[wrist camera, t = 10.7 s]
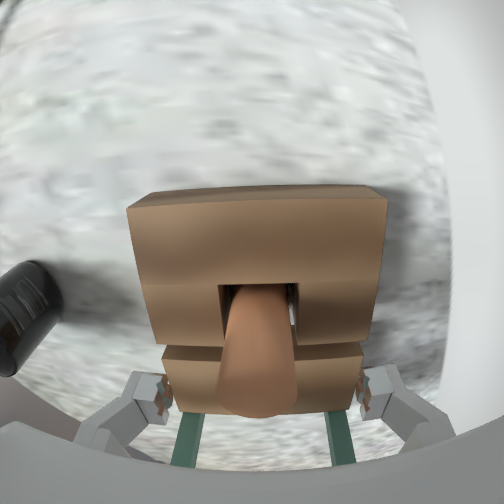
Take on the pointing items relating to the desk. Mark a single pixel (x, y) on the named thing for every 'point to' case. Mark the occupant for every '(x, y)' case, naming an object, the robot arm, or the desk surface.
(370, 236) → the socket block
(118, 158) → the desk surface
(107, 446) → the robot arm
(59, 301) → the supplement bottle
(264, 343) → the peg
